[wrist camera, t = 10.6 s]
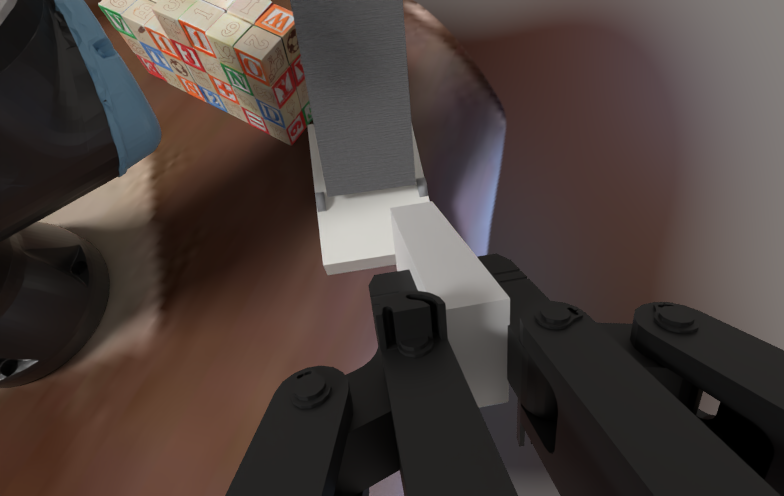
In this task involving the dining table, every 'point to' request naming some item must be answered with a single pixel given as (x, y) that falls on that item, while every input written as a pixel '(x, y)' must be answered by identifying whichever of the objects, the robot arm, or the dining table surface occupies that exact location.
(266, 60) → the stack of blocks
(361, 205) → the white slotted base
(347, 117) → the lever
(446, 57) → the dining table surface
